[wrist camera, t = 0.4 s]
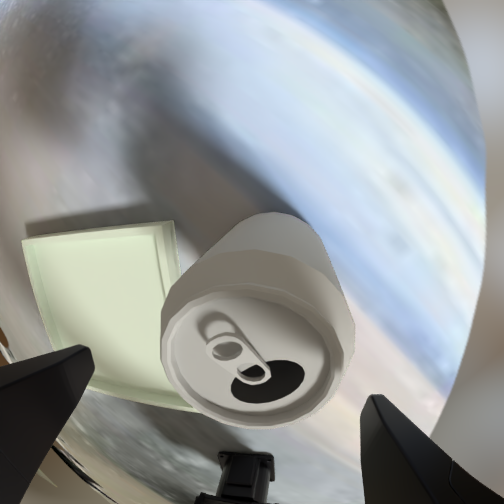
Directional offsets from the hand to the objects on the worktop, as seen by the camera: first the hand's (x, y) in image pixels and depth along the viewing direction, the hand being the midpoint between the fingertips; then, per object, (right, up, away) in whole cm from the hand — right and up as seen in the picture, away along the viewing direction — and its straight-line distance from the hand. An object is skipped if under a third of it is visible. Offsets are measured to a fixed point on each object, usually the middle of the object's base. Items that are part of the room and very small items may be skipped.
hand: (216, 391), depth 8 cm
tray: (-12, -2, +16) cm, 20 cm away
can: (+3, +3, +13) cm, 13 cm away
